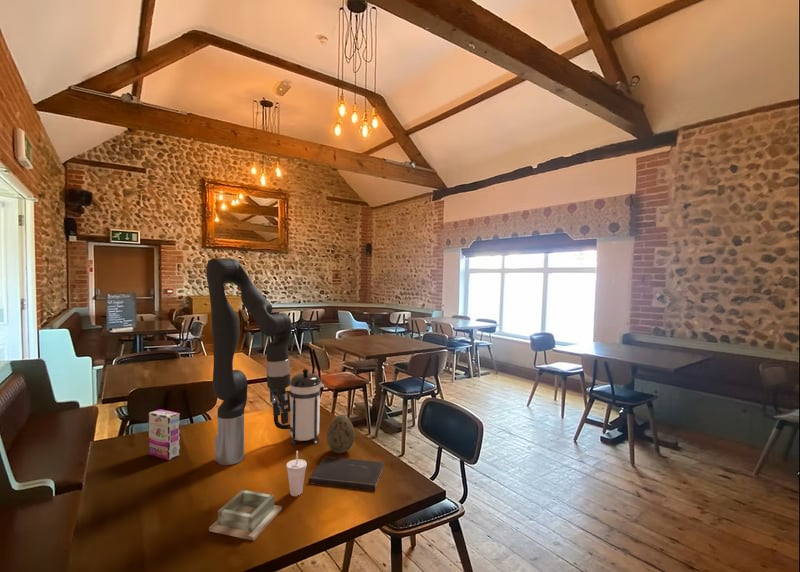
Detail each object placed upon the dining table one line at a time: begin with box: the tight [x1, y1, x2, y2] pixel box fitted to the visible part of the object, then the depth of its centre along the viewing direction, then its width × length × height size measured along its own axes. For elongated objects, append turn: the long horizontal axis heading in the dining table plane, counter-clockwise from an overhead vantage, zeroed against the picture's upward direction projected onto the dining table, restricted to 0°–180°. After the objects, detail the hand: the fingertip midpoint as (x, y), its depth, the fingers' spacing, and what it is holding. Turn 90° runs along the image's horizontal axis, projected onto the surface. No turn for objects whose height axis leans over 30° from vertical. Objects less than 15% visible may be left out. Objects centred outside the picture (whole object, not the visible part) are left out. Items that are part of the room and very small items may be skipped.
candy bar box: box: [148, 408, 181, 461], centre depth 150 cm, size 11×5×16 cm, turn 68°
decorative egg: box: [326, 414, 356, 454], centre depth 156 cm, size 11×11×15 cm
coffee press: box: [273, 368, 325, 446], centre depth 166 cm, size 17×16×30 cm
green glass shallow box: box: [208, 489, 283, 541], centre depth 113 cm, size 14×14×5 cm
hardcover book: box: [308, 455, 386, 492], centre depth 139 cm, size 16×23×2 cm
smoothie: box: [286, 450, 308, 497], centre depth 127 cm, size 6×6×14 cm
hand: (280, 419), depth 135 cm, fingers open, 8 cm apart
